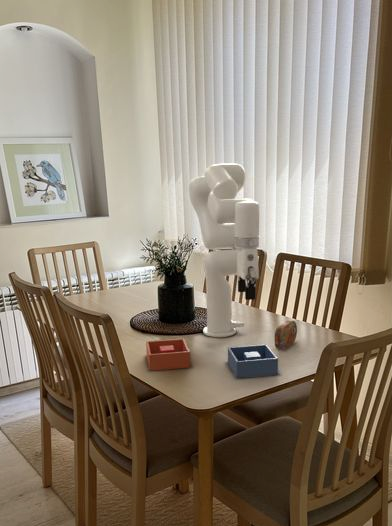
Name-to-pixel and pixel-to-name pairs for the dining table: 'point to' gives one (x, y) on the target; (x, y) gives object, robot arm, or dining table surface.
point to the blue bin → (252, 361)
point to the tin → (285, 335)
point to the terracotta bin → (168, 355)
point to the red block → (167, 349)
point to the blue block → (251, 356)
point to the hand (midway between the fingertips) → (246, 295)
